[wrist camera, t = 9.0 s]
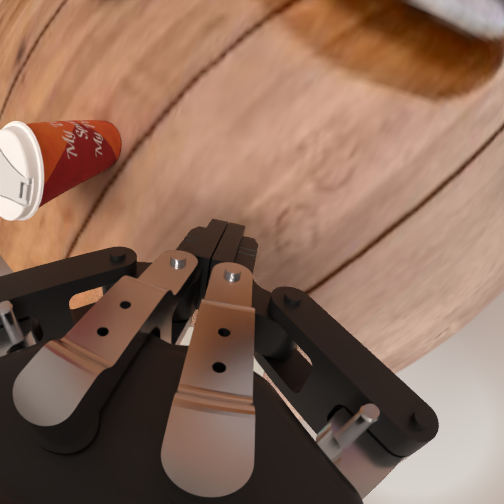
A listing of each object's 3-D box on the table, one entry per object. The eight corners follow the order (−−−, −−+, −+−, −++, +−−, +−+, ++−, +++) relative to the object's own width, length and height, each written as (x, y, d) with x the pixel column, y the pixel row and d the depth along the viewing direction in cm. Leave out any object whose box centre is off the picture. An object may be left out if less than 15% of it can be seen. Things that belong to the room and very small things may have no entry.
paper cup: (140, 125, 24) (39, 141, 12) (116, 190, 27) (27, 244, 15) (87, 102, 23) (-13, 113, 10) (68, 163, 26) (-22, 201, 14)
